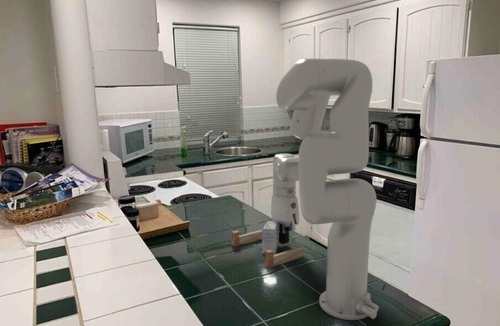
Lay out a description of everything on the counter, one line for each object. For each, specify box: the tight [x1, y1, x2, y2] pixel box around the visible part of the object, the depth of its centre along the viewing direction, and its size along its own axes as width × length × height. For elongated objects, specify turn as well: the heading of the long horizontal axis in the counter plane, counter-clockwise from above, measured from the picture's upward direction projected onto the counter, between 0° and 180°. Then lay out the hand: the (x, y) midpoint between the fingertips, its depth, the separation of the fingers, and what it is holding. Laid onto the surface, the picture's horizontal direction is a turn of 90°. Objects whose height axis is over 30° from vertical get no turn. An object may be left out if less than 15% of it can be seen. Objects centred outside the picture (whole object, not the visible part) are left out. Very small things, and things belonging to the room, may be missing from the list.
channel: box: [231, 229, 304, 270], centre depth 121 cm, size 21×14×5 cm, turn 34°
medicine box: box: [261, 220, 279, 255], centre depth 122 cm, size 8×4×9 cm, turn 169°
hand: (283, 242), depth 125 cm, fingers closed
